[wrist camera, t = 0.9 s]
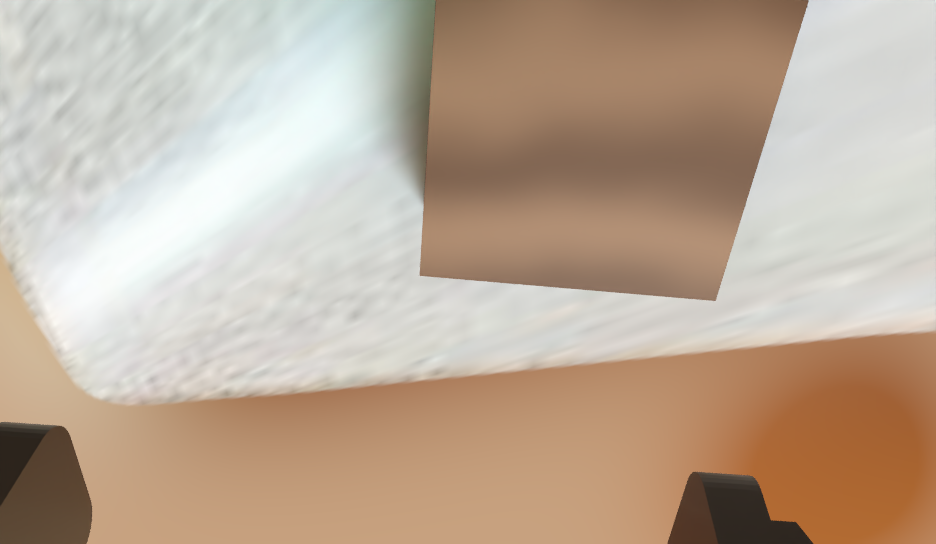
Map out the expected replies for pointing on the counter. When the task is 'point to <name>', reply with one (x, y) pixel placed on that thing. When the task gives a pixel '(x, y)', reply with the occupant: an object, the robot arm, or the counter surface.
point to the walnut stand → (598, 139)
